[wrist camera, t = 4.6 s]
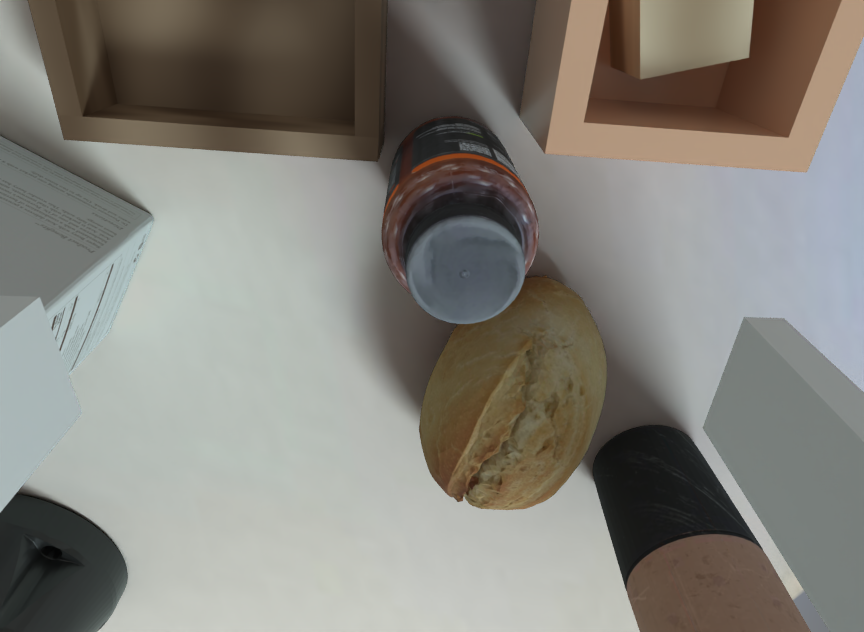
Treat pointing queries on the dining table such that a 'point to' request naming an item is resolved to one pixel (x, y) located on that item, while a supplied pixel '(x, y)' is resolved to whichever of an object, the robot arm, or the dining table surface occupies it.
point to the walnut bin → (219, 73)
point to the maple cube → (677, 34)
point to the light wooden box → (691, 89)
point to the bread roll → (515, 400)
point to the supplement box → (66, 247)
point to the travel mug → (685, 540)
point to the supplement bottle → (458, 221)
